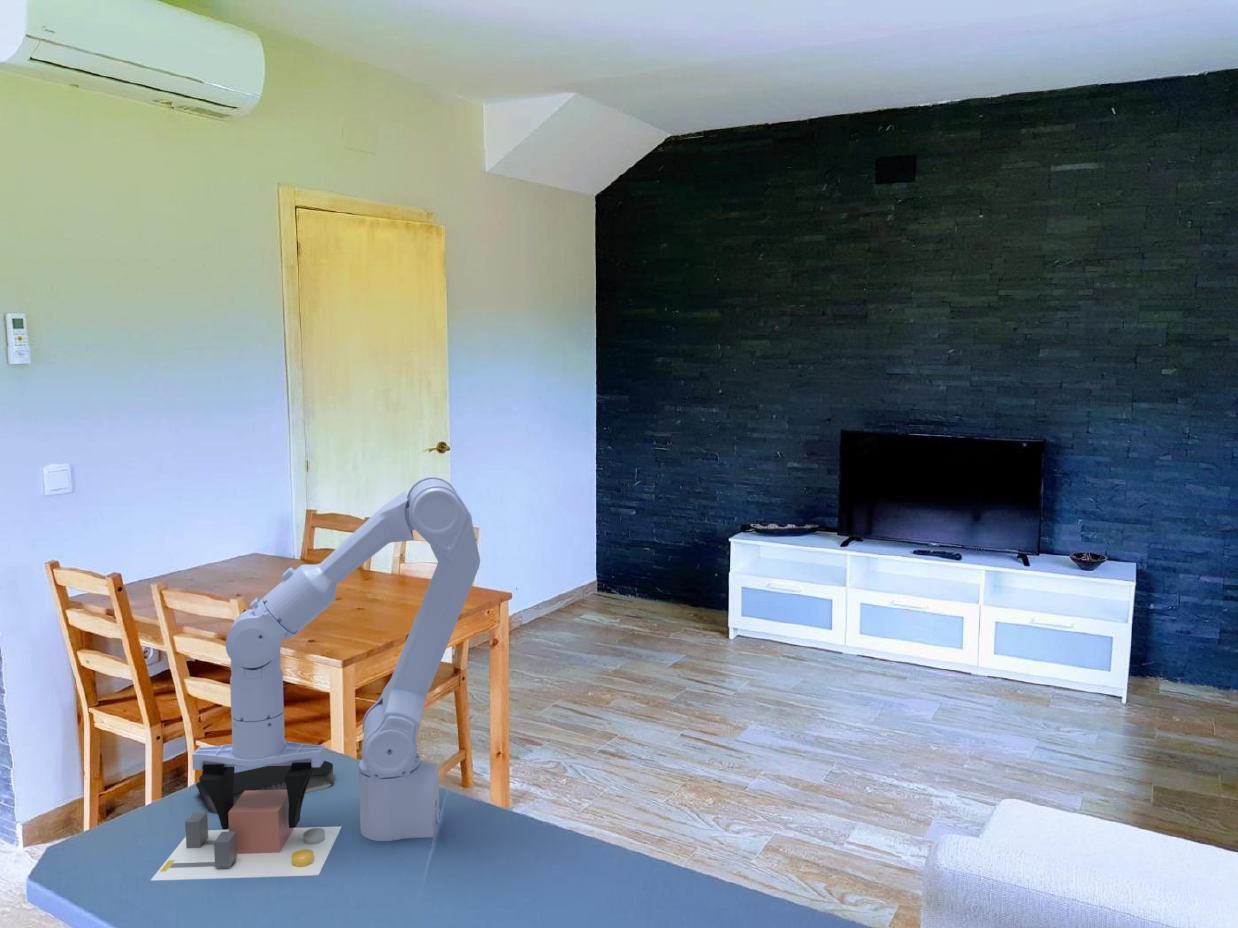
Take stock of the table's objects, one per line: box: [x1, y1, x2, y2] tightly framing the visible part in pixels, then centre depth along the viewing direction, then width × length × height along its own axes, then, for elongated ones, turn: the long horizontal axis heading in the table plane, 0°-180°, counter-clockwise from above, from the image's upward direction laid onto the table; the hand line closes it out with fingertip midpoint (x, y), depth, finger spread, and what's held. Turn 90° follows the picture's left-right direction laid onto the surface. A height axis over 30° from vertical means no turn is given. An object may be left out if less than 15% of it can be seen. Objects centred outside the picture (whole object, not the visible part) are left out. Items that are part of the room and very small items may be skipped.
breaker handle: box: [214, 831, 237, 868], centre depth 104 cm, size 2×2×3 cm
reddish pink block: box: [228, 789, 293, 854], centre depth 109 cm, size 6×6×5 cm
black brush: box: [195, 760, 335, 815], centre depth 123 cm, size 16×8×4 cm, turn 123°
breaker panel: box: [150, 811, 342, 882], centre depth 107 cm, size 18×11×4 cm, turn 94°
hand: (261, 824), depth 109 cm, fingers open, 7 cm apart
